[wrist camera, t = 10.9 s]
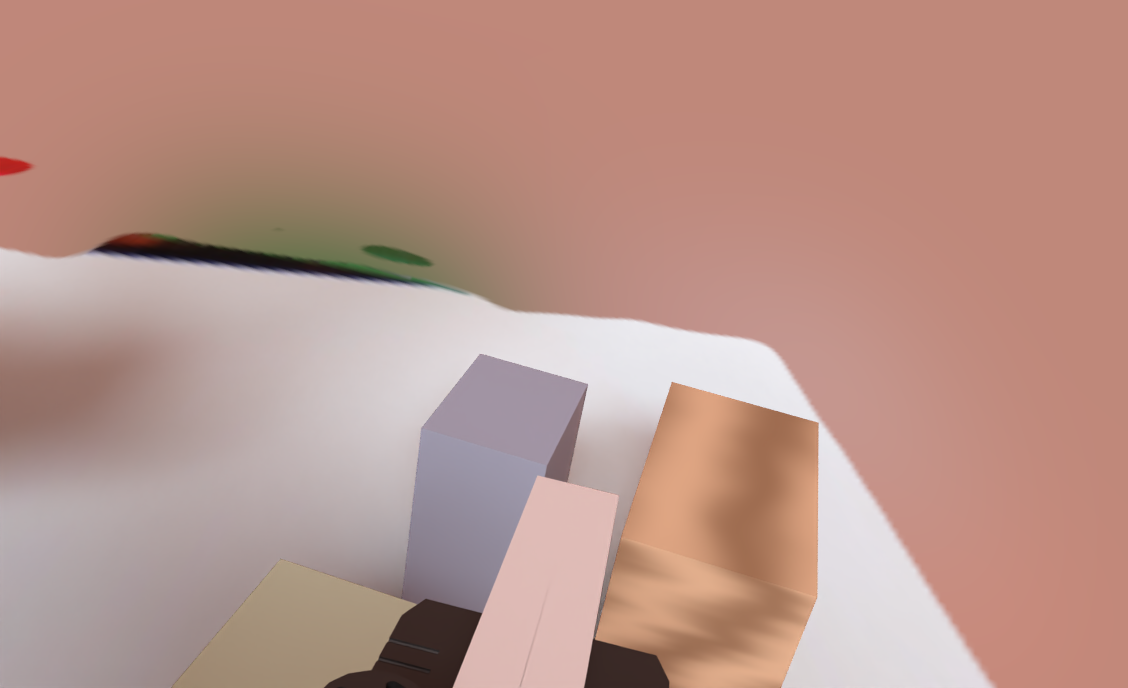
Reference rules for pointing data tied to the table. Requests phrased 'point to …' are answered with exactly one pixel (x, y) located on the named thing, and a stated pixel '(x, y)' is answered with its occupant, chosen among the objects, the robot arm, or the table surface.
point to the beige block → (297, 633)
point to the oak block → (719, 544)
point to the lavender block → (484, 475)
